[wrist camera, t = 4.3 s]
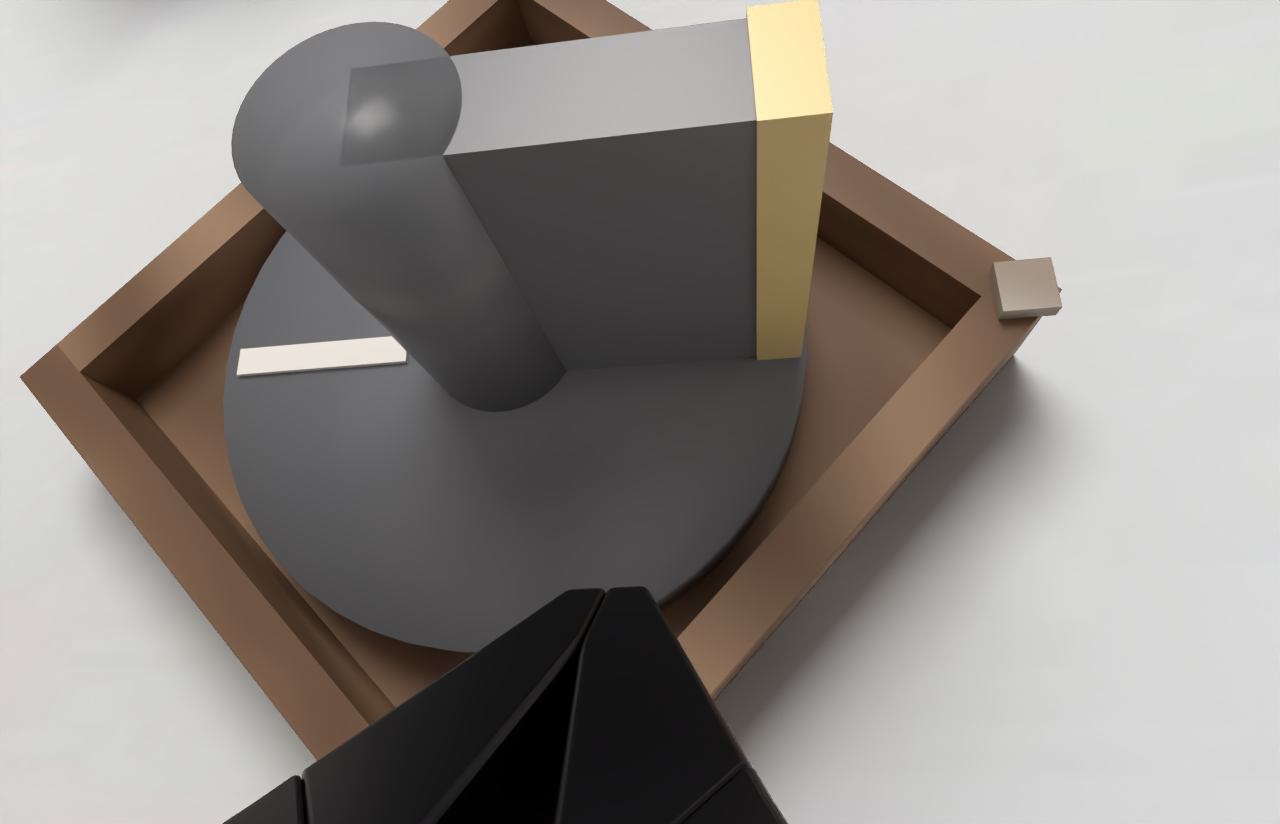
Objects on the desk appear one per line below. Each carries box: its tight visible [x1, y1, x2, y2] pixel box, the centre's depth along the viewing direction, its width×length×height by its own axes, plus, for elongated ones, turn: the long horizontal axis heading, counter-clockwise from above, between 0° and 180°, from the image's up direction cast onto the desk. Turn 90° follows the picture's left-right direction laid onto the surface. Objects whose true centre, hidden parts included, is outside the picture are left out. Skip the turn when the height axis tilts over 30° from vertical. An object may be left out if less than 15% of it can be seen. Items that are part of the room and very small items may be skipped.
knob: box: [223, 0, 833, 655], centre depth 16 cm, size 14×14×10 cm
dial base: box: [20, 0, 1062, 761], centre depth 21 cm, size 18×18×4 cm
